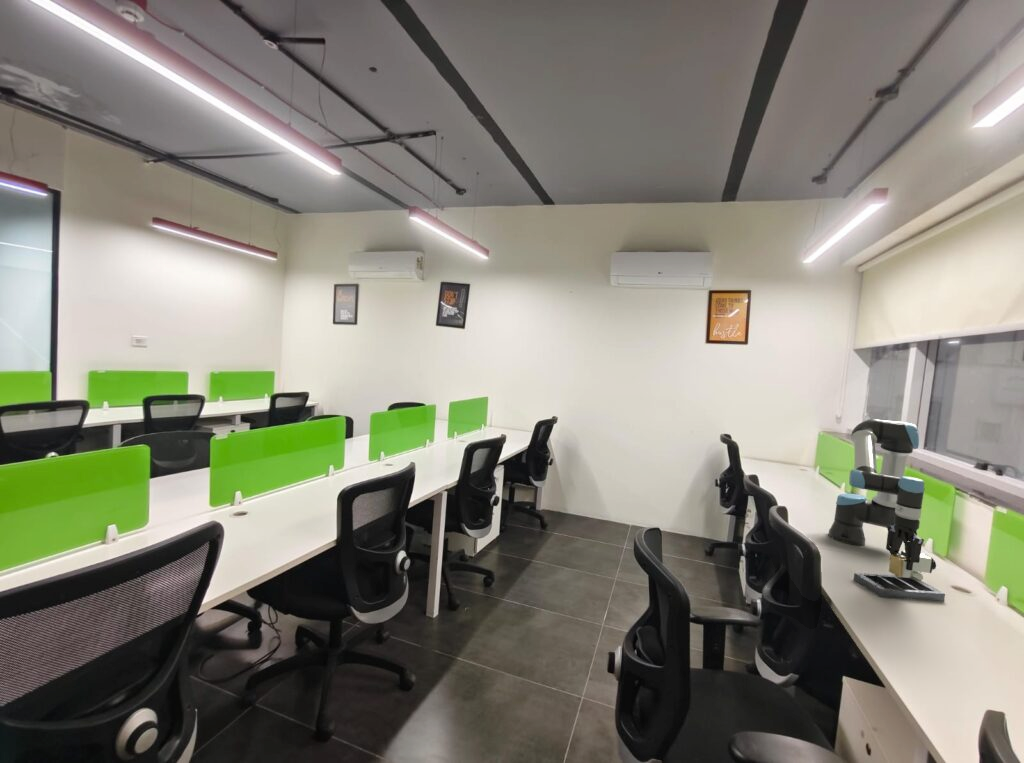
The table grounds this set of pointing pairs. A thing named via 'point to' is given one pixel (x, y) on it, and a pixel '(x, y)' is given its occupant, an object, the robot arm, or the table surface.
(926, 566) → the white security camera
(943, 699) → the table surface
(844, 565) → the table surface
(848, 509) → the robot arm
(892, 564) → the tan rectangular block
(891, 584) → the grey slotted tray
